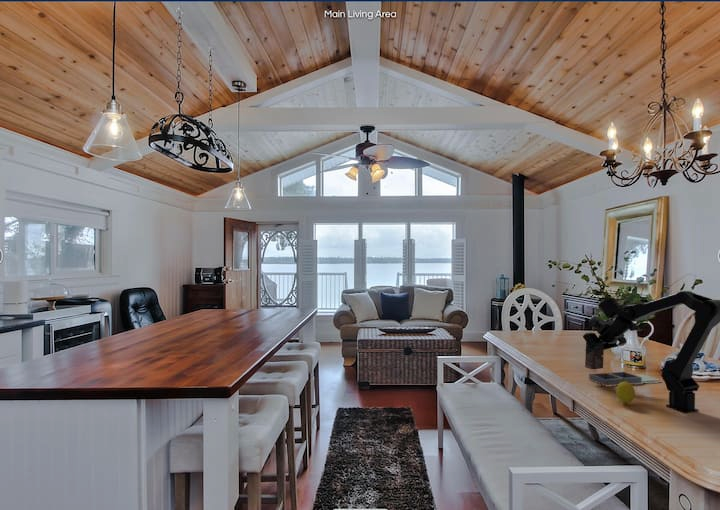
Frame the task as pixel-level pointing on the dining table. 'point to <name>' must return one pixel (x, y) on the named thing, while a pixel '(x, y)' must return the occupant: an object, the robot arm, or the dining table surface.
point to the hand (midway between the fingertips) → (591, 351)
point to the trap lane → (621, 378)
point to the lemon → (625, 392)
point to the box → (595, 358)
